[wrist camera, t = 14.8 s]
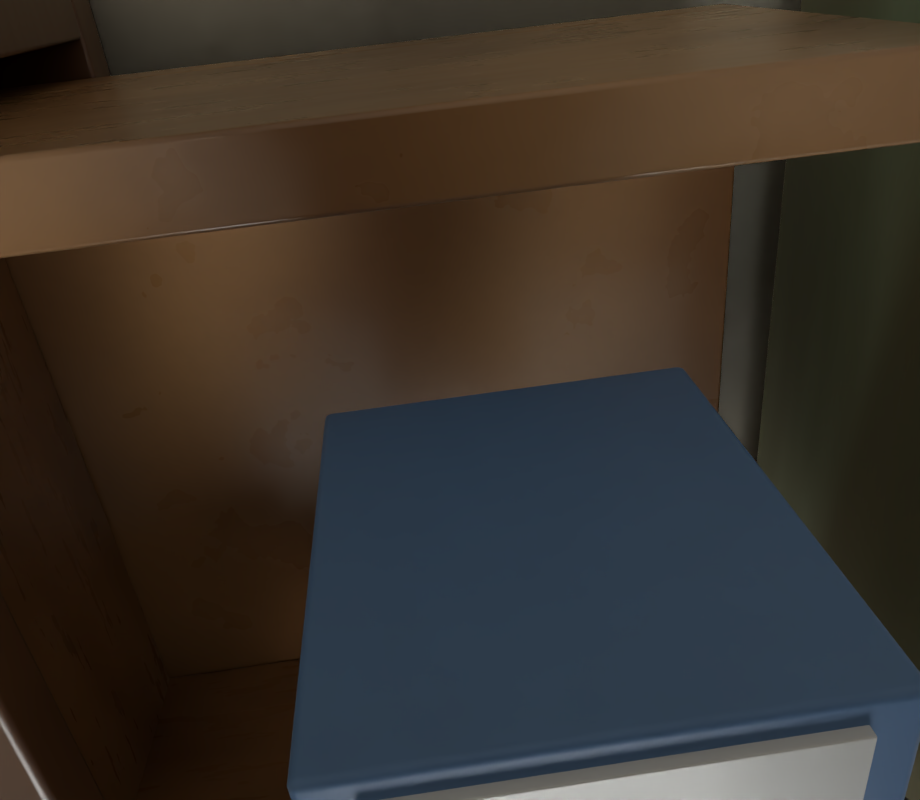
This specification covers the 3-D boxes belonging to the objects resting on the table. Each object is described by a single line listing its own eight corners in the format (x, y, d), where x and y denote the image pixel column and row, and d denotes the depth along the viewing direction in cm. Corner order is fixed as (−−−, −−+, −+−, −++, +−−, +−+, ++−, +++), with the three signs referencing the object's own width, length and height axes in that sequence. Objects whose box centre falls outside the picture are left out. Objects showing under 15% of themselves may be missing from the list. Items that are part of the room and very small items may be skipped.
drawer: (1193, -104, 12) (1974, -174, 6) (995, 568, 19) (1288, 849, 13) (-96, 44, 11) (-600, 127, 6) (164, 690, 18) (61, 1049, 12)
